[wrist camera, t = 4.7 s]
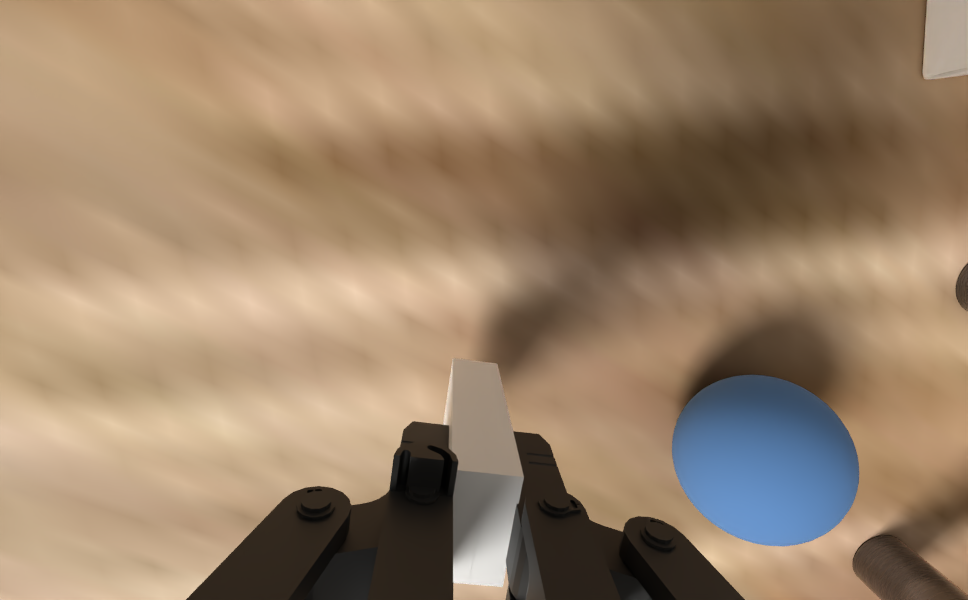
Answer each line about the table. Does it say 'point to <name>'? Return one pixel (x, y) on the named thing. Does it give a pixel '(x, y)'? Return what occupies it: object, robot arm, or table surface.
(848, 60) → the table surface
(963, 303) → the post
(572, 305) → the table surface
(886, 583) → the post
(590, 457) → the table surface
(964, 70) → the ink cartridge box
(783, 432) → the ball
